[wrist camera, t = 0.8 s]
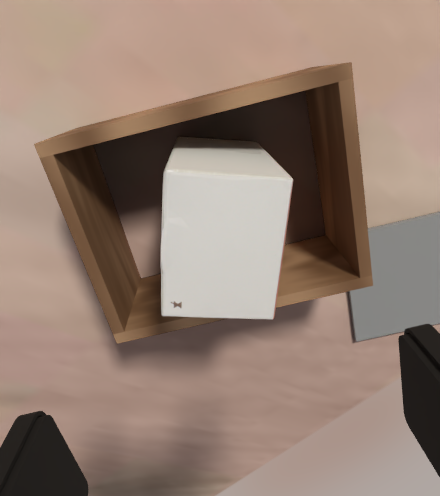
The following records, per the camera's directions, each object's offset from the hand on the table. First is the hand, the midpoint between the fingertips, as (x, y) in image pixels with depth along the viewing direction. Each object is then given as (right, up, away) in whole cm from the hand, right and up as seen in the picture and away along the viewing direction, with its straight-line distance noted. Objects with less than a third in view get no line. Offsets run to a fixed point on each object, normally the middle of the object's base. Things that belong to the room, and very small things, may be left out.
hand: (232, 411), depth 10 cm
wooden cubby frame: (-1, +9, +21) cm, 23 cm away
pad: (+16, +2, +25) cm, 30 cm away
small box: (-1, +9, +22) cm, 24 cm away
